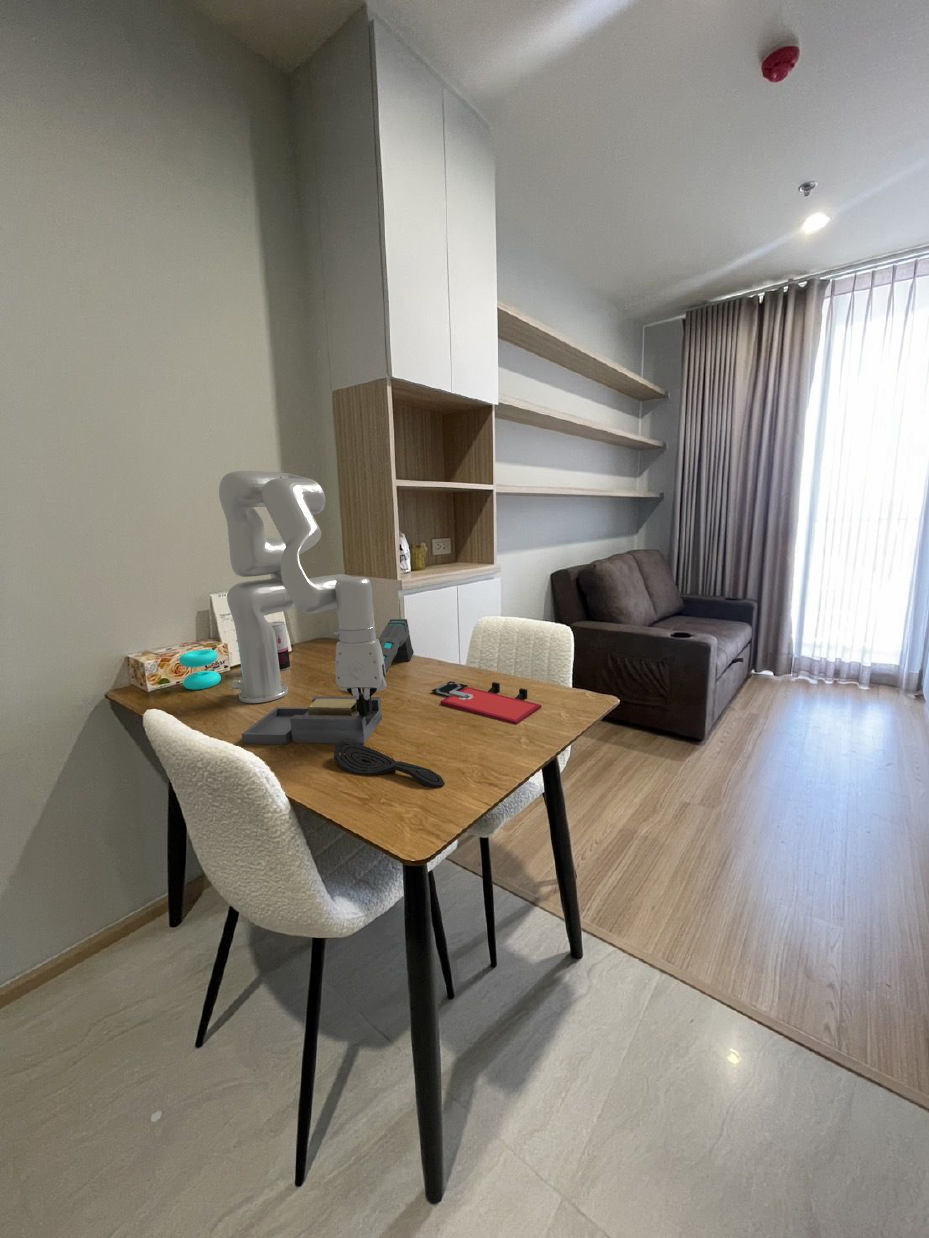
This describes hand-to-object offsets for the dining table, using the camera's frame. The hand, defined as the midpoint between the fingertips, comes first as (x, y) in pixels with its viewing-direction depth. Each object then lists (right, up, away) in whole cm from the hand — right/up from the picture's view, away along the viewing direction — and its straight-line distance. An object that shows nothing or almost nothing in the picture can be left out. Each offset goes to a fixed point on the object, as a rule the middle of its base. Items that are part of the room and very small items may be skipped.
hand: (365, 714), depth 110 cm
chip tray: (-20, -4, +4) cm, 21 cm away
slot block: (-6, -4, +2) cm, 7 cm away
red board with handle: (+27, 0, +16) cm, 31 cm away
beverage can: (-38, +5, +50) cm, 63 cm away
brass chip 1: (-10, -1, +1) cm, 10 cm away
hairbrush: (+8, -8, -17) cm, 20 cm away
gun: (-1, +5, +43) cm, 43 cm away
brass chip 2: (-5, -1, +1) cm, 5 cm away
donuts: (-56, +1, +37) cm, 67 cm away
